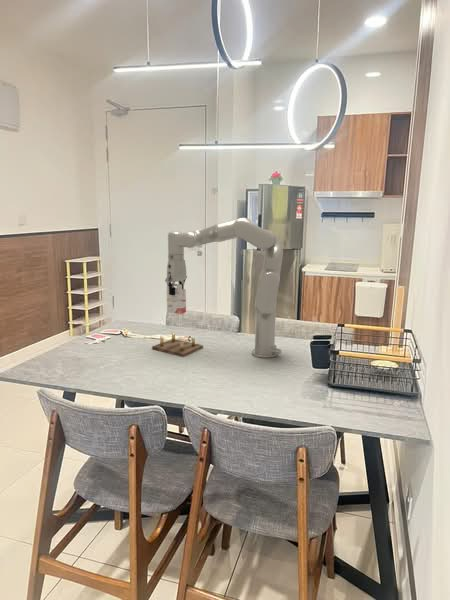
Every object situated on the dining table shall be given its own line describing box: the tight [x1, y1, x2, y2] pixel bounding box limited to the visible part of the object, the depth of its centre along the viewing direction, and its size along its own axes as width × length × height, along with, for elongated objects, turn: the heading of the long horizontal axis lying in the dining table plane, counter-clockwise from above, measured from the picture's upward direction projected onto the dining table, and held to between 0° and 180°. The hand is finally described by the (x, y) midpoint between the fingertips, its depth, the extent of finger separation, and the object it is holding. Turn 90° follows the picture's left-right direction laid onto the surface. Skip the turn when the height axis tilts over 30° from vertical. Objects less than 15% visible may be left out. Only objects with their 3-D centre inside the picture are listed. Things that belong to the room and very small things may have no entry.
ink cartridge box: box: [166, 283, 187, 315], centre depth 210 cm, size 9×5×15 cm, turn 73°
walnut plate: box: [151, 338, 204, 358], centre depth 215 cm, size 20×16×2 cm
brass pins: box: [159, 333, 196, 351], centre depth 215 cm, size 15×11×4 cm
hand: (176, 293), depth 209 cm, fingers closed on ink cartridge box, 5 cm apart
